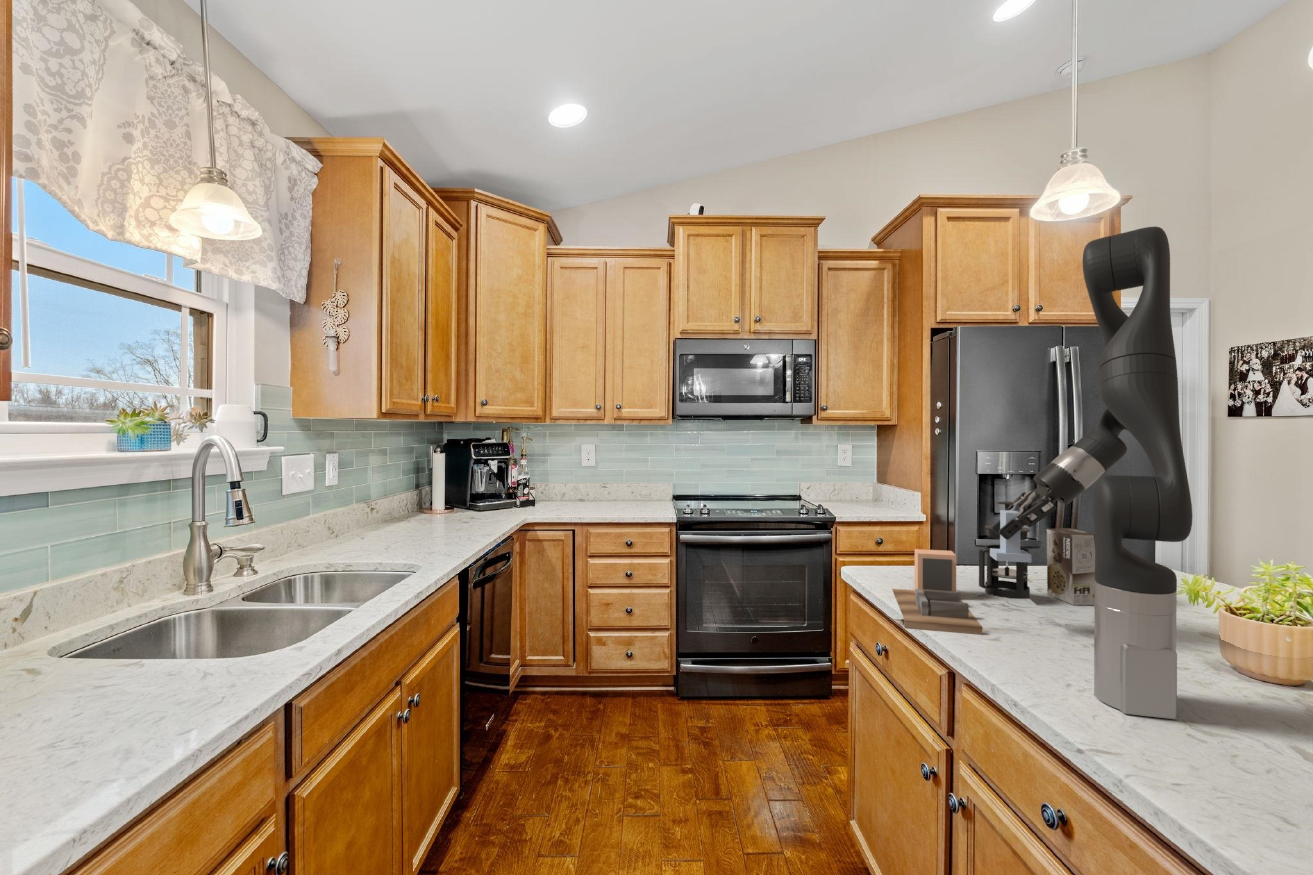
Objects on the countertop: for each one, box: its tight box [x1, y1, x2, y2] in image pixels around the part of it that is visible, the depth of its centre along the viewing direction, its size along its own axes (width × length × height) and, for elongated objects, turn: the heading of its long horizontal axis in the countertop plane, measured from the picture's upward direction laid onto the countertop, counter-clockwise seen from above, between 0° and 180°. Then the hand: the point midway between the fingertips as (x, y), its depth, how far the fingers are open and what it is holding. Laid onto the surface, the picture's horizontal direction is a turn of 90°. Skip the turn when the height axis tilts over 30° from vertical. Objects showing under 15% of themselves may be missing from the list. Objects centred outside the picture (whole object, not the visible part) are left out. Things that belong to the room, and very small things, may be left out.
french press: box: [978, 500, 1031, 600], centre depth 135 cm, size 12×9×23 cm
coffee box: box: [1046, 527, 1095, 606], centre depth 134 cm, size 9×6×16 cm
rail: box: [891, 588, 983, 635], centre depth 126 cm, size 24×14×4 cm, turn 163°
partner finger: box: [914, 548, 957, 593], centre depth 133 cm, size 6×8×10 cm
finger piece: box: [990, 509, 1032, 564], centre depth 115 cm, size 5×6×10 cm
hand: (999, 533), depth 116 cm, fingers closed on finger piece, 4 cm apart
